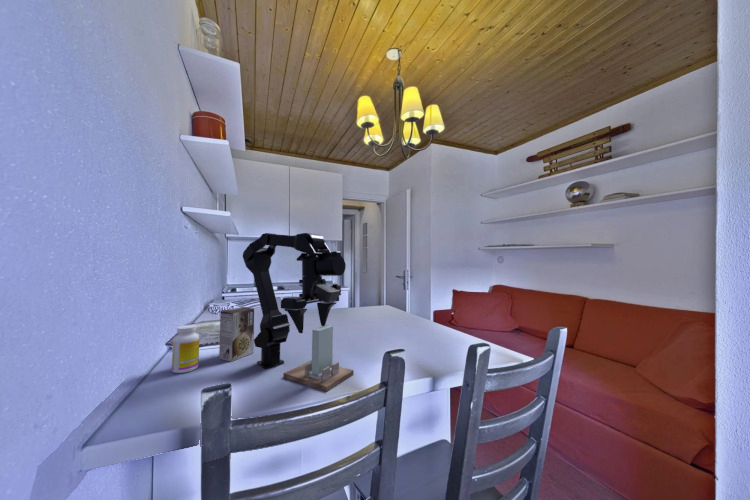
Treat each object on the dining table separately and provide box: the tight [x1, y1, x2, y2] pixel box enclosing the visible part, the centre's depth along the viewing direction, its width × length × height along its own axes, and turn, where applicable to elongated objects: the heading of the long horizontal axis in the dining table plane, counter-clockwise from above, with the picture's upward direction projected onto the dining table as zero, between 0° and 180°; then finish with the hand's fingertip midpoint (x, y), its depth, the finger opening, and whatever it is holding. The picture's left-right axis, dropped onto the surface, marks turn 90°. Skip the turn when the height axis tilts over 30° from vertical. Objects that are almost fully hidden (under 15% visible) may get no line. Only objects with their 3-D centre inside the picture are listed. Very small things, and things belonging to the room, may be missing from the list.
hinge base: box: [282, 359, 355, 392], centre depth 77 cm, size 16×12×4 cm
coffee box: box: [218, 306, 255, 362], centre depth 92 cm, size 9×6×16 cm
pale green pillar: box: [309, 324, 334, 380], centre depth 75 cm, size 4×6×13 cm, turn 150°
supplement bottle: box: [171, 324, 200, 374], centre depth 81 cm, size 7×7×13 cm
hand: (312, 329), depth 77 cm, fingers open, 9 cm apart
